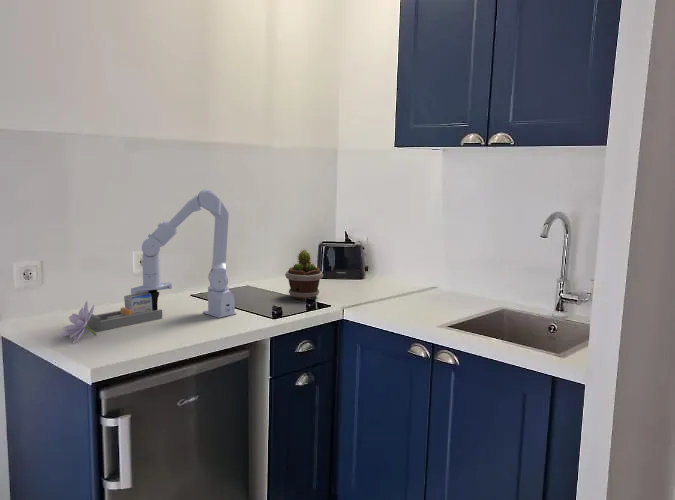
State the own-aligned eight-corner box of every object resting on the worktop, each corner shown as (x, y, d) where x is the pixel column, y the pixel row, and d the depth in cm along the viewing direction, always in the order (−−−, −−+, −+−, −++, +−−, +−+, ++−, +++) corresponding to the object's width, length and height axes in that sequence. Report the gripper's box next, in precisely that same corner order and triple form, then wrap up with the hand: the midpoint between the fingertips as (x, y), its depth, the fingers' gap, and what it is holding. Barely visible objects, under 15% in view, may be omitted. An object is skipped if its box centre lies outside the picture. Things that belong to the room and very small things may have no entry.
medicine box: (132, 322, 200) (131, 297, 198) (125, 320, 203) (123, 295, 201) (153, 317, 206) (151, 293, 204) (145, 315, 209) (144, 291, 207)
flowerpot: (322, 302, 234) (322, 251, 231) (283, 301, 234) (283, 250, 231) (323, 293, 248) (324, 246, 245) (286, 293, 248) (287, 245, 245)
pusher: (132, 322, 199) (132, 310, 198) (112, 326, 194) (112, 314, 193) (124, 318, 203) (123, 307, 202) (103, 322, 198) (103, 310, 197)
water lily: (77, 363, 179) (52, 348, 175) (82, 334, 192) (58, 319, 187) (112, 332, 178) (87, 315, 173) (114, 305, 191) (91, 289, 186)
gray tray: (162, 318, 205) (162, 305, 205) (97, 331, 189) (96, 318, 188) (148, 313, 211) (148, 301, 211) (84, 326, 194) (83, 312, 194)
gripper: (163, 269, 213) (164, 306, 215) (125, 274, 203) (127, 313, 205) (174, 271, 209) (175, 309, 211) (136, 277, 198) (137, 317, 200)
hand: (152, 311), depth 207 cm, fingers closed, pressing on medicine box
